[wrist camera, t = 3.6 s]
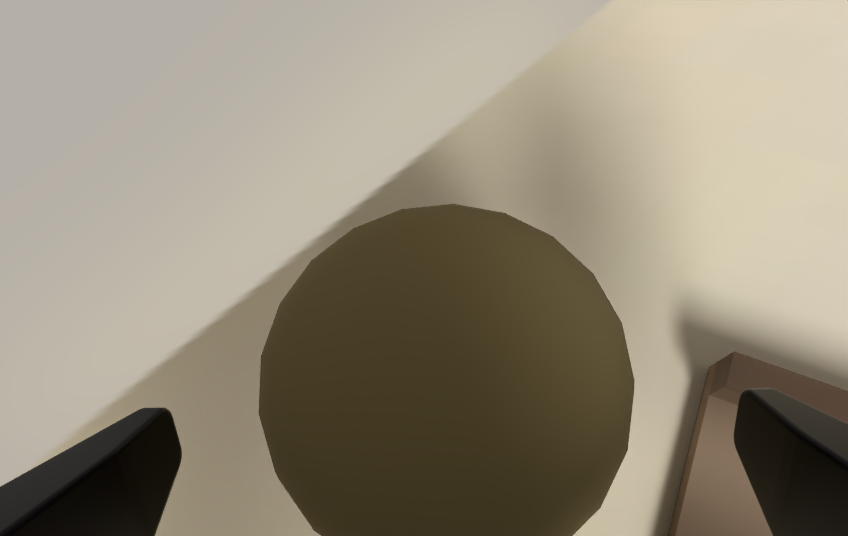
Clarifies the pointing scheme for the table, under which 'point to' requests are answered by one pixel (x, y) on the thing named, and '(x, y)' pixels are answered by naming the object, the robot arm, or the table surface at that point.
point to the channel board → (716, 454)
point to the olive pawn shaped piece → (446, 381)
